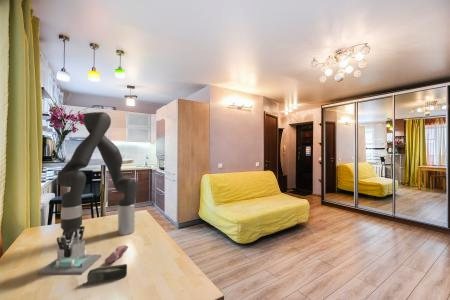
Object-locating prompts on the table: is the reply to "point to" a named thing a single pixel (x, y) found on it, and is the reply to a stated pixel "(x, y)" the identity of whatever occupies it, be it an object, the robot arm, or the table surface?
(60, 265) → the docking tray
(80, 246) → the block
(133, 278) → the table surface
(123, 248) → the pink oblong lump
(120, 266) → the mobile phone
